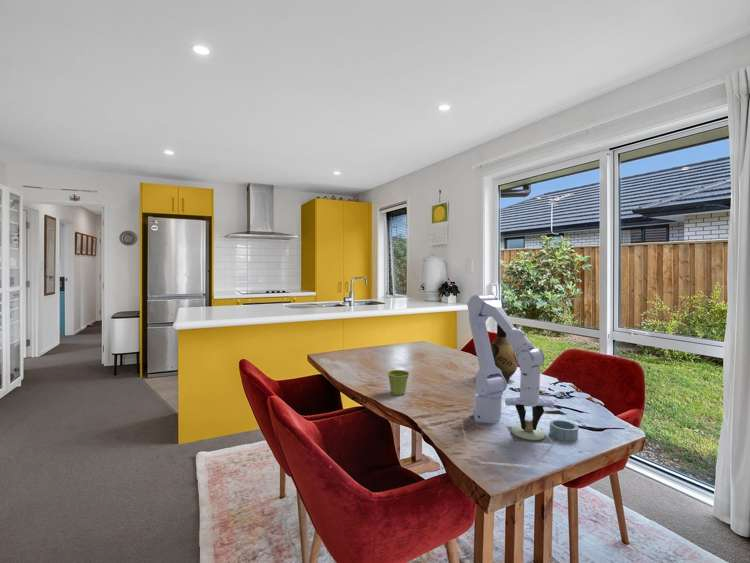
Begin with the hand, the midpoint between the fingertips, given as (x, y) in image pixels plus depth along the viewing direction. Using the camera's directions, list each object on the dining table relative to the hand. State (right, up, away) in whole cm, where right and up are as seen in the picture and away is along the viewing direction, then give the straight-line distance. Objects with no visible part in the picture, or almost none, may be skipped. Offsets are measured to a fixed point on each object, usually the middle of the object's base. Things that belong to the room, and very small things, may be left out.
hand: (528, 428), depth 129 cm
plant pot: (-39, 0, +41) cm, 57 cm away
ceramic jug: (+11, 0, +66) cm, 67 cm away
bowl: (+11, -3, 0) cm, 11 cm away
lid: (0, -2, 0) cm, 2 cm away
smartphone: (+18, -3, +16) cm, 24 cm away
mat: (0, -3, 0) cm, 2 cm away
